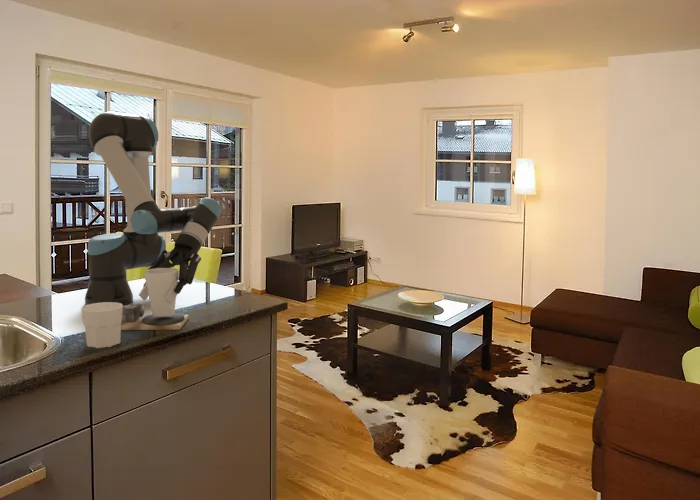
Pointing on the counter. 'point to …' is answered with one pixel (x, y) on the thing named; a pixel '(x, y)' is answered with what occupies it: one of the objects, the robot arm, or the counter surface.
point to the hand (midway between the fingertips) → (155, 299)
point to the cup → (102, 323)
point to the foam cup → (161, 289)
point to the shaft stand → (149, 319)
